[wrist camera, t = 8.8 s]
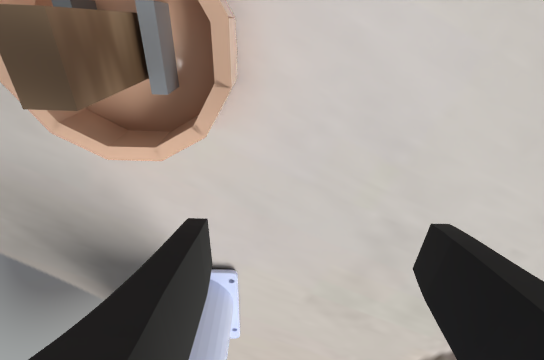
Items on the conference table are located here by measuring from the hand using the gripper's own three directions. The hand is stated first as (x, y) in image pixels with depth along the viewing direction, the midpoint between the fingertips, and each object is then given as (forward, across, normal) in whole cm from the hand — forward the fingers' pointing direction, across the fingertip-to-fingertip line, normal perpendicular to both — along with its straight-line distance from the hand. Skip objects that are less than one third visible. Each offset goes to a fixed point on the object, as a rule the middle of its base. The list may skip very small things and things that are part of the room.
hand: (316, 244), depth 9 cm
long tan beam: (+9, +9, -5) cm, 14 cm away
